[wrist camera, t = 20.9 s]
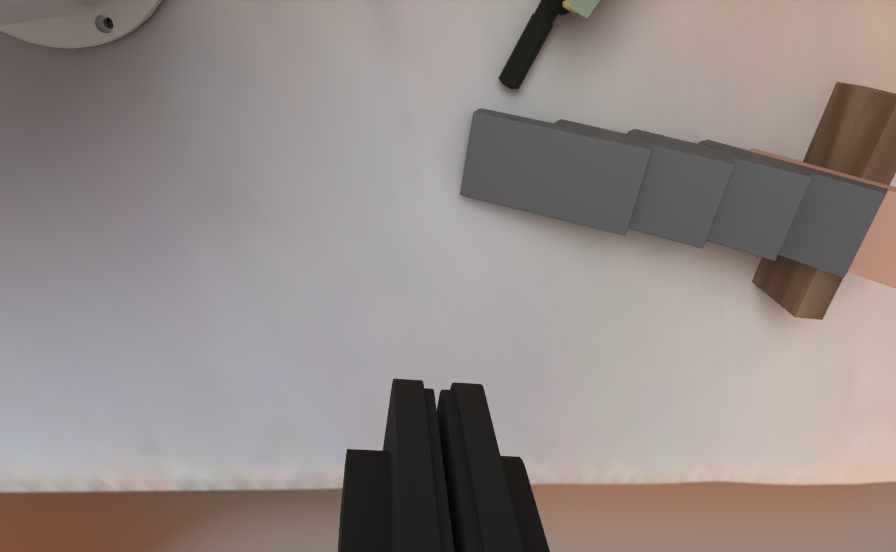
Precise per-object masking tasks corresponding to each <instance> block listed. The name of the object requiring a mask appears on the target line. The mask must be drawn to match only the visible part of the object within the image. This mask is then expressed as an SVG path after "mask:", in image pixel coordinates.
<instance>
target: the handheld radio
mask: <svg viewBox="0 0 896 552" xmlns="http://www.w3.org/2000/svg"><path fill="white" fill-rule="evenodd" d="M599 2H600V0H541V2H540V4H539V6H538V8H537V10H536V12H535V14H532V16H531V18H530V20H529V22H528V24H527V26H526V28H525V30H524V31H523V33H522V35H521V37H520V39H519V41H518V43H517V45H516V47H515V48H514V50H513V52H512V54H511V56H510V58H509V60H508V62H507V64H506V65H505V67H504V69H503V71H502V73H501V75H500V77H499V79H500V81H501V82H502V83H503V84H504V85H505V86H507V87H509V88H511V89H519V87H520V85H521V83H522V81H523V80H524V78H525V76H526V74H527V72H528V70H529V69H530V67H531V65H532V63H533V61H534V59H535V58H536V56H537V54H538V52H539V50H540V48H541V47H542V45H543V43H544V41H545V39H546V37H547V36H548V34H549V32H550V30H551V28H552V26H553V25H552V24H553V22H554V20H555V18H556V16H557V14H560V15H565V14H567V13H569V12H572V13H575V14H577V13H578V14H580V15H581V16H583V17H585V18H586V19H587V18H588V17H589V16H590V14H591V13H592V11H593V10H594V9H595V7H596V6H597V4H598V3H599Z"/></svg>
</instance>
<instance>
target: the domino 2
mask: <svg viewBox="0 0 896 552" xmlns="http://www.w3.org/2000/svg"><path fill="white" fill-rule="evenodd" d="M555 124H557V125H562V126H567V127H572V128H576V129H581V130H586V131H590V132H595V133H600V134H605V135H609V136H614V137H619V138H624V139H628V140H633V141H638V142H643V143H647V144H651V152H650V155H649V159H648V162H647V165H646V169H645V172H644V175H643V179H642V182H641V185H640V188H639V192H638V195H637V198H636V202H635V205H634V208H633V212H632V215H631V218H630V222H629V225H628V228H629V229H633V230H637V231H640V232H644V233H648V234H651V235H655V236H659V237H662V238H666V239H670V240H673V241H677V242H681V243H684V244H688V245H692V246H695V247H699V248H703V246H704V243H705V241H706V238H707V235H708V233H709V230H710V227H711V225H712V222H713V219H714V217H715V214H716V211H717V209H718V206H719V203H720V201H721V198H722V195H723V193H724V190H725V187H726V185H727V182H728V179H729V177H730V174H731V171H732V169H733V166H734V161H733V159H732V158H728V157H724V156H719V155H715V154H710V153H706V152H702V151H697V150H693V149H689V148H684V147H680V146H676V145H671V144H667V143H662V142H658V141H654V140H649V139H645V138H641V137H636V136H632V135H627V134H623V133H619V132H614V131H610V130H606V129H601V128H597V127H593V126H588V125H584V124H579V123H575V122H571V121H566V120H562V119H560V120H559V121H557V122H556V123H555Z"/></svg>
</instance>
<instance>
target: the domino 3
mask: <svg viewBox="0 0 896 552" xmlns="http://www.w3.org/2000/svg"><path fill="white" fill-rule="evenodd" d="M628 135H632V136H636V137H641V138H645V139H649V140H654V141H658V142H662V143H667V144H671V145H676V146H680V147H684V148H689V149H693V150H697V151H702V152H706V153H710V154H715V155H719V156H724V157H728V158H732V159H733V161H734V166H733V169H732V171H731V174H730V177H729V179H728V182H727V185H726V187H725V190H724V193H723V195H722V198H721V201H720V203H719V206H718V209H717V211H716V214H715V217H714V219H713V222H712V225H711V227H710V230H709V233H708V235H707V238H706V240H707V241H711V242H714V243H717V244H721V245H724V246H727V247H731V248H734V249H737V250H741V251H744V252H747V253H751V254H754V255H757V256H761V257H764V258H767V259H771V260H774V261H775V260H776V258H777V255H778V253H779V251H780V248H781V246H782V244H783V241H784V239H785V237H786V235H787V232H788V230H789V228H790V225H791V223H792V221H793V218H794V216H795V214H796V212H797V209H798V207H799V205H800V202H801V200H802V198H803V195H804V193H805V191H806V189H807V186H808V184H809V182H810V179H811V172H810V171H806V170H801V169H797V168H793V167H789V166H785V165H781V164H777V163H773V162H769V161H764V160H760V159H756V158H752V157H748V156H744V155H740V154H736V153H732V152H727V151H723V150H719V149H715V148H711V147H707V146H703V145H699V144H695V143H690V142H686V141H682V140H678V139H674V138H670V137H666V136H662V135H658V134H653V133H649V132H645V131H641V130H637V129H634V130H632V131H630V132H629V133H628Z"/></svg>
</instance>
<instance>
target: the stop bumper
mask: <svg viewBox="0 0 896 552" xmlns="http://www.w3.org/2000/svg"><path fill="white" fill-rule="evenodd" d="M803 162H804V163H808V164H811V165H815V166H819V167H822V168H826V169H830V170H834V171H837V172H841V173H845V174H848V175H852V176H856V177H860V178H863V179H867V180H871V181H874V182H878V183H882V184H886V185H890V183H891V181H892V179H893V177H894V175H895V173H896V94H894V93H890V92H886V91H882V90H877V89H873V88H869V87H865V86H858V85H852V84H846V83H840V82H837V84H836V86H835V88H834V91H833V93H832V95H831V98H830V100H829V102H828V105H827V107H826V109H825V112H824V114H823V117H822V119H821V121H820V124H819V126H818V128H817V131H816V133H815V135H814V138H813V140H812V142H811V145H810V147H809V149H808V152H807V154H806V156H805V159H804V161H803ZM842 279H843V277H840V276H838V275H835V274H832V273H829V272H826V271H823V270H821V269H818V268H815V267H812V266H809V265H806V264H804V263H801V262H798V261H795V260H792V259H790V258H787V257H784V256H781V255H777V258H776V260H775V261H774V260H771V259H767V258H764V257H762V260H761V262H760V265H759V267H758V269H757V272H756V274H755V276H754V279H753V281H752V282H754V283H755V284H756V285H757V286H758V287H759V288H761V289H762V290H763V291H764V292H765V293H767V294H768V295H769V296H770V297H771V298H773V299H774V300H775V301H776V302H777V303H779V304H780V305H781V306H782V307H783V308H785V309H786V310H787V311H788V312H789V313H791V314H792V315H793V316H794V317H799V318H810V319H821V320H822V319H823V317H824V315H825V313H826V311H827V309H828V307H829V305H830V303H831V301H832V299H833V297H834V295H835V293H836V291H837V289H838V287H839V285H840V283H841V281H842Z"/></svg>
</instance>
